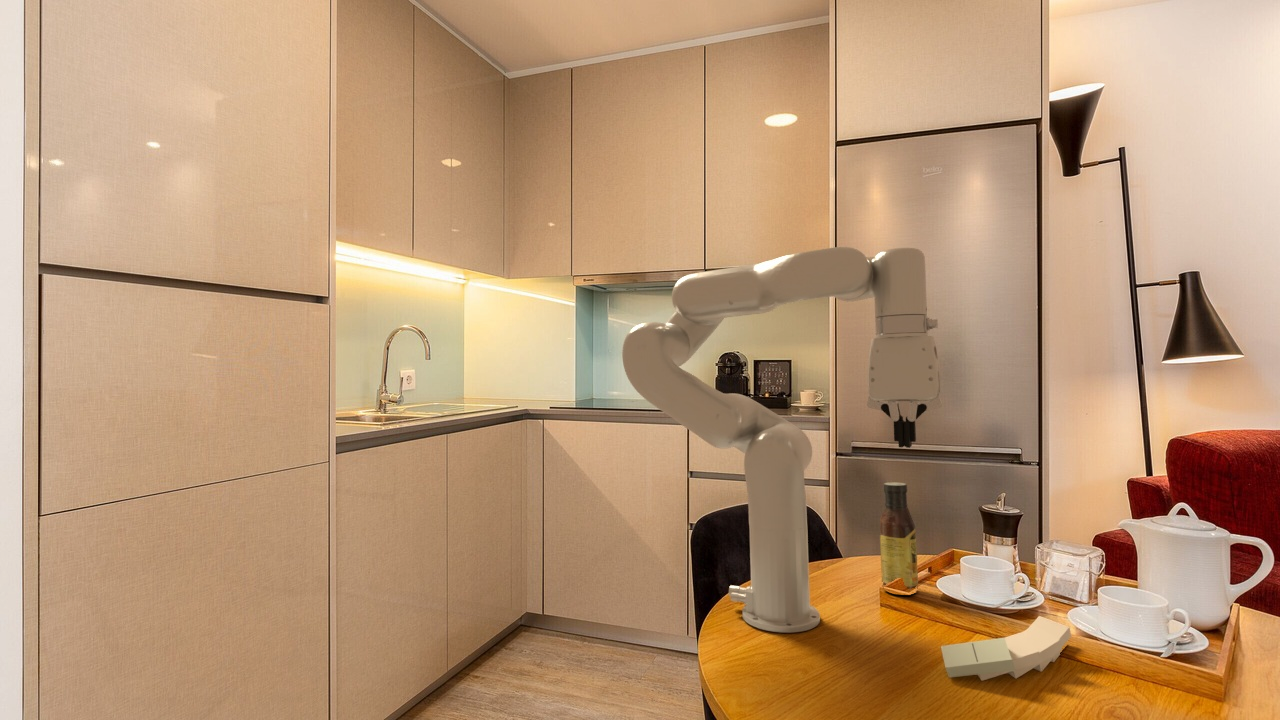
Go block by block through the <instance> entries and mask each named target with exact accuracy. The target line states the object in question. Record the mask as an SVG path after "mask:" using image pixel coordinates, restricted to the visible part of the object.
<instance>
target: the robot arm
mask: <svg viewBox="0 0 1280 720" xmlns="http://www.w3.org/2000/svg"><path fill="white" fill-rule="evenodd" d="M926 277H927V276H926V257H925V255H924V252H923V251H922V250H920V249H919V248H915V247H898V248H890V249H886V250H885V249H884V250H882V251H880V252H878V253H877V254H876V255H875V256H870V257H869V256H868V257H867V256H866V255H865V254H864V253H863V252H862V251H860V250H858V249H856V248H854V247H850V246H836V247H834V246H833V247H827V248H821V249H816V250H810V251H802V252H796V253H792V254H791V253H790V254H788V255H783V256H780V257H777V258H773V259H769V260H764V261H763V262H760V263H759V262H757V263H752V264H746V265H739V266H734V267H728V268H727V267H726V268H722V269H721V268H720V269H714V270H707V271H699V272H694V273H690V274H686V275H685V276H683V277H681V278H680V279H678V280H677V281H676V283H675V284H674V286H673V288H672V292H671V301H672V306H673V308H674V310H675V312H673V314H672V315H671V316H670V317H669V319H668V320H667V321H666V322H665V323H664V322H658V321H657V322H656V321H647V322H642V323H640V324H637V325H635V326H634V327H633V328H631V329H630V330H629V331H628V333H627V334H626V335H625V338H624V340H623V345H622V352H621V353H622V358H621V359H622V365H623V368H624V371H625V375H626V377H627V379H628V381H629V382H630V385H632V387H633V388H634V390H635V391H636V392H637V393H638V394H639V395H640V396H641V397H642V398H643V399H644V400H646V401H647V402H649V404H651V405H652V406H654V407H655V408H657V409H658V410H659V411H661V412H663V413H664V414H665V415H667V416H669V417H670V418H671V419H673V420H674V421H676V422H677V423H678V424H679V425H681V426H682V427H685V428H686V429H687V430H689V431H690V432H692V433H693V434H694V435H696V436H698V437H699V438H700V439H702V440H703V441H705V442H706V443H707V444H709V445H710V446H712V447H714V448H717V449H721V450H722V449H723V450H724V449H731V448H736V449H737V450H738V451H740V452H741V453H743V454H744V460H743V467H744V468H743V470H744V477H745V484H746V485H745V486H746V491H747V506H748V526H749V527H748V528H749V558H750V560H749V562H750V585H748V586H747V587H742V586H740V585H732V584H730V586H729V588H728V596H729V597H730V600H731V602H738V603H739V602H741V603H743V604H744V606H743V607H742V614H741V616H742V619H743V620H744V622H746V624H748V625H750V626H751V627H754V628H757V629H759V630H763V631H767V632H772V633H783V634H784V633H785V634H787V633H788V634H790V633H791V634H792V633H801V632H805V631H810V630H811V629H814V628H815V627H817V626H818V625H819V624H820V622H821V621H820V620H821V616H820V615H821V614H820V612H819V610H818V609H817V608H816V607H815V606H813V605H811V604H810V603H811V600H810V599H811V597H810V575H809V574H810V571H809V565H810V564H809V543H808V542H809V540H808V539H809V538H808V537H809V536H808V534H809V533H808V515H807V514H808V513H807V511H808V510H807V498H806V487H805V470H806V469H807V468H808V467H809V465H810V463H811V461H812V459H813V447H812V443H811V441H810V439H809V437H808V436H807V434H806V433H805V432H804V431H803V430H802V429H800V428H799V427H798V426H796V425H795V424H793V423H792V422H790V421H788V420H787V419H785V418H784V417H782V416H781V415H779V414H778V413H776V412H773V410H771V409H770V408H768V407H766V406H764V405H763V404H761V403H759V402H757V401H756V400H754V399H752V398H750V397H749V396H746V395H743V394H740V393H735V392H734V393H733V392H732V393H725V392H724V393H723V392H722V391H719V390H718V389H716V388H714V387H713V386H711V385H709V384H707V383H706V382H705V381H704V380H701V379H700V378H699V377H697V376H695V375H694V374H692V373H690V372H688V371H686V370H684V369H682V368H681V366H682V365H685V364H686V363H687V362H688V361H689V360H690V359H691V358H692V357H693V356H694V355H695V353H697V351H698V350H699V349H700V348H701V347H702V345H703V344H704V343H705V342H706V341H707V340H708V338H710V336H711V335H712V334H713V333H714V332H715V330H716V329H718V327H719V326H720V324H722V322H723V321H724V319H725V318H732V317H733V318H734V317H743V316H752V315H760V314H765V313H768V312H771V311H774V310H775V309H776V308H778V307H781V306H784V305H786V304H790V303H795V302H800V301H807V300H813V299H823V298H832V297H833V298H835V299H837V300H839V301H841V302H851V303H852V302H856V301H857V302H858V301H863V300H867V299H873V298H874V299H873V300H874V323H875V326H874V327H875V338H871V341H870V345H869V346H870V347H869V351H868V352H869V354H868V355H869V356H868V368H867V371H868V372H867V393H868V399H867V404H866V406H867V408H869V409H873V410H878V411H882V412H883V413H885V414H886V415H887V416H888V417H889V418H890V419H891V421H892V422H893V439H894V442H898V443H897V444H898V448H904V447H905V448H907V449H908V448H909V449H911V447H913V446H912V445H913V443H916V441H917V435H916V434H917V433H916V420H917V419H918V418H919V417H921V415H922V414H924V413H925V412H927V411H933V410H936V409H940V408H941V407H942V405H943V403H942V399H941V396H940V394H941V393H940V392H941V383H940V382H941V380H940V370H939V369H940V368H939V359H938V357H939V356H938V351H937V346H936V343H935V338H934V336H932V335H929V334H928V333H929V332H930V331H931V330H933V329H939V322H938V318H936V319H934V318H930V317H928V309H927V308H928V303H927V279H926ZM926 401H927V402H926ZM899 402H908V410H907V416H905V421H904V416H902V414H901V407H900V404H899ZM920 402H923V403H920Z"/></svg>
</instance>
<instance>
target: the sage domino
mask: <svg viewBox="0 0 1280 720" xmlns="http://www.w3.org/2000/svg"><path fill="white" fill-rule="evenodd" d="M940 649H941V653H942V659H943V663H944V666H945V667H944V668H945V671H946V673H947V676H948V678H957V677H966V676H973V675H976V676H977V674H984V673H993V672H1002V671H1010V670H1015V667H1014V664H1013V661H1012V658H1011V655H1010V652H1009V649H1008V647H1007V644H1006V641H1005V637H999V638H991V639H984V640H977V641H970V642H961V643H954V644H944V645H940Z"/></svg>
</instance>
